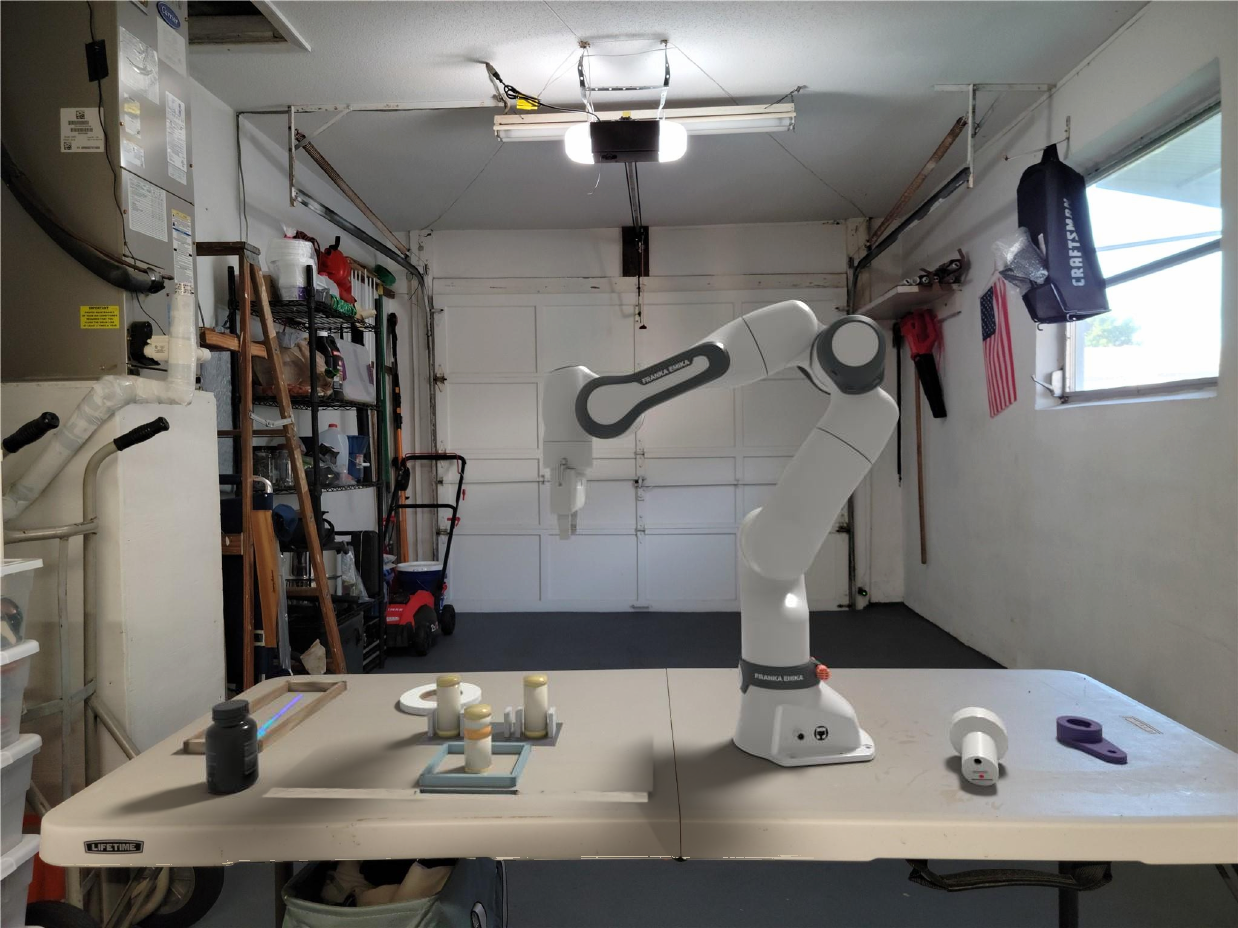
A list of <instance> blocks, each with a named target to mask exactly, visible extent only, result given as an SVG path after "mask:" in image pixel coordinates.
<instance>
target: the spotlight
mask: <svg viewBox="0 0 1238 928" xmlns="http://www.w3.org/2000/svg"><path fill="white" fill-rule="evenodd" d="M949 741H950V743H951V745H952V748H953V749H954V751H955V752H956V753H957V754H958V755H959V756H961V773H962V774H963V777H964V778H965V779H966V780H968V782H970V783H972V784H973V785H978V786H983V787H988V786H989V787H990V786H991V785H993V784H995V783H997V781H998V779H999V778H1000V777H999V776H1000V775H999V763H998V761H1000V760H1001V759H1003V758H1004V757H1005V756H1006V754H1007V752H1008V751H1009V736H1008V729H1007V728H1006V726H1005V723H1004V721H1003V720H1002V719H1001V718H1000V717H999V716H998V715H997V714H996V713H994V712H993V711H990V710H989V709H986V708H983V707H975V706H969V707H965V708H961V709H960V710H958V711H957V712H955V713H953V715H952V717H951V719H950V721H949Z"/></svg>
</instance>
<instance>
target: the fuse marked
mask: <svg viewBox="0 0 1238 928" xmlns="http://www.w3.org/2000/svg"><path fill="white" fill-rule="evenodd" d="M491 722H492V706H491V705H489V704H485V703H477V704H474V705H470V706H467V707H465V708H464V750H465V753H464V771H465V772H466V773H468V774H484V773H486V772H488V771H489V770H491V769H492V767H493V764H492V762H493V761H492V754H493V753H491Z"/></svg>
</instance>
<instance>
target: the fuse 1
mask: <svg viewBox="0 0 1238 928" xmlns="http://www.w3.org/2000/svg"><path fill="white" fill-rule="evenodd" d="M435 681H436V695H435V696H436V701H437V735H438V736H439V737H443V738H448V737H454V736H457V735H459V734H460V712H461V711H462V710H461V693H460V682H461V675H460V674H457V673H447V674H441V675H439V676H437V677H436V679H435Z"/></svg>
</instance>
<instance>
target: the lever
mask: <svg viewBox="0 0 1238 928" xmlns="http://www.w3.org/2000/svg"><path fill="white" fill-rule="evenodd" d="M1055 721H1056V727H1055V728H1056V738H1057V740H1059V741H1060V742H1063V743H1064V744H1065V745H1069V746H1071V747H1073V748H1075V749H1078V750H1079V751H1082V752H1084V753H1086V754H1088V755H1091V756H1093V757H1094V758H1098V759H1100V760H1102V761H1104V762H1107V763H1112V764H1119V765H1120V764H1126V763H1128V753H1127V752H1125V751H1124V750H1123V749H1121V748H1120V747H1118V745H1115V744H1114V743H1113V742H1111V741H1110V740H1109V739H1107V738H1105V737H1104V736H1103V725H1102V724H1101V723H1100V722H1098V721H1096V720H1093V719H1090V718H1087V717H1082V716H1076V715H1059V716H1057V717H1056V719H1055Z"/></svg>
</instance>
